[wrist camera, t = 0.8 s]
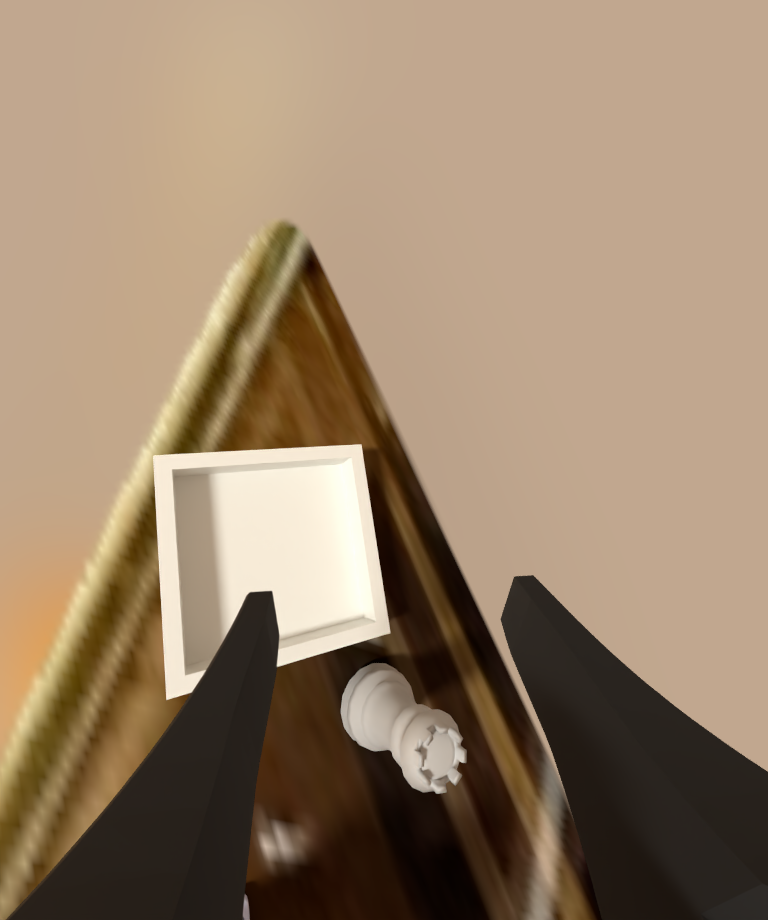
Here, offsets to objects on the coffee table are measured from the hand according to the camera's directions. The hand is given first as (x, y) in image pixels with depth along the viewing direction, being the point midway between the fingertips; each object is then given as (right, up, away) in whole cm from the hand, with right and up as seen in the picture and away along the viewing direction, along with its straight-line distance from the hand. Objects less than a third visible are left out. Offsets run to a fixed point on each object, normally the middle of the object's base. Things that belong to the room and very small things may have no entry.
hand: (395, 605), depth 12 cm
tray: (-7, -1, +12) cm, 14 cm away
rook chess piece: (-1, -11, +13) cm, 17 cm away
